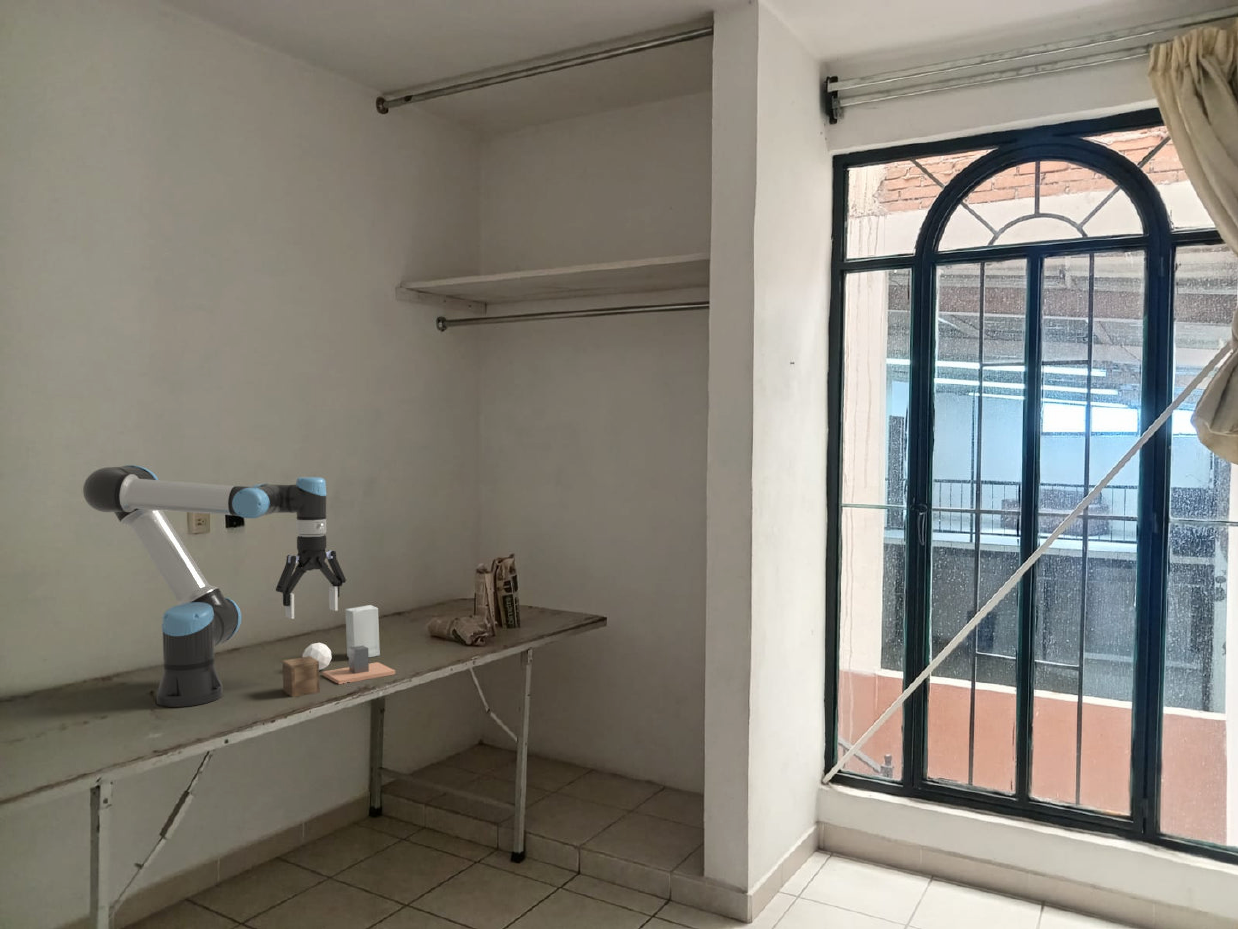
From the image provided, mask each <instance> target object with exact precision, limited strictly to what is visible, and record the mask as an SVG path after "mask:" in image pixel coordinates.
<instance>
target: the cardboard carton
mask: <svg viewBox="0 0 1238 929" xmlns="http://www.w3.org/2000/svg"><path fill="white" fill-rule="evenodd" d="M320 689H321V688H320V670H319V661H317V660H316V659H314V658H312V657H310V656H308V657H297V658H290V659H284V660H282V690H283V692H284V693H286V694H287V695H288V696H290V697H291V698H295V697H300V696H305V694H306V695H311V694H315V693H316V694H317V693H320Z"/></svg>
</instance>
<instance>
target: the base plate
mask: <svg viewBox="0 0 1238 929" xmlns="http://www.w3.org/2000/svg"><path fill="white" fill-rule="evenodd" d="M391 675H396V670H395V669H393V668H390V666H387V665H385V664H382V663H381V662H371V663H370V662H369V671H368V672H362V673H357V674H354V673H352V672H350V671H349V666H348V667H342V668H337V669H331V670H330V669H329V670H325V671H322V676H323V677H325V678H327V679H328V680H330V681H333V682H334V683H336V684H337V683H338V684H337V685H343V683H344V684H348V683H347V682H350V683H354V682H360V681H365V680H369V679H371V680H372V679H376V678H382V677H386V676H391Z"/></svg>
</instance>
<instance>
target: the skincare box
mask: <svg viewBox="0 0 1238 929" xmlns="http://www.w3.org/2000/svg"><path fill="white" fill-rule="evenodd" d="M344 612H345V630H346V632H345V633H346V637H345V638H346V654H347V655H346V656H347V657H348V658H349V648H350V647H356V646H362V645H363V646H365V647H367V648H368V655H369V658H373V657H379V656H380V655H381V654H380V653H381V652H380V631H379V630H380V628H379V626H380V625H379V608H378V607H376V606H374V605H372V604H369V605H368V604H367V605H363V606H356V607H350V608H345V610H344Z"/></svg>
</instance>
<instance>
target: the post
mask: <svg viewBox="0 0 1238 929" xmlns="http://www.w3.org/2000/svg"><path fill="white" fill-rule="evenodd" d="M369 658H370V657H369V655H368V648H367V647H365V646H363V645H362V646H356V647H350V648H349V657H348V667H349V671H350V672H352V673H354V674H357V673H362V672H368V671H369V664H370V662H369Z"/></svg>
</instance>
